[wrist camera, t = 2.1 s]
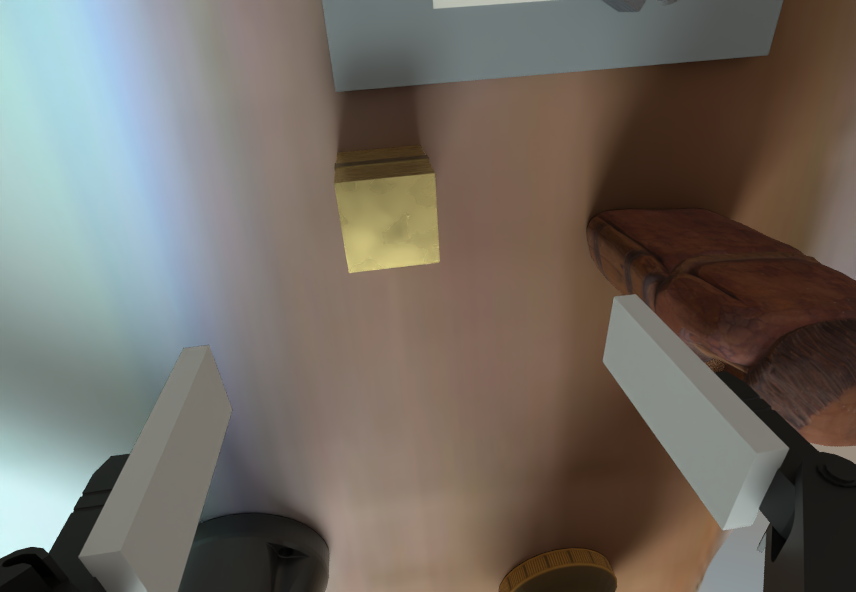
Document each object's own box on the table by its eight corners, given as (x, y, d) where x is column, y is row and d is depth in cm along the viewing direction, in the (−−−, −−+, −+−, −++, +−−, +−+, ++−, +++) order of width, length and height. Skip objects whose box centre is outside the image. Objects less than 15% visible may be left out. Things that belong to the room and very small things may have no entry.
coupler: (348, 230, 31) (348, 273, 26) (336, 151, 29) (333, 182, 23) (426, 222, 32) (440, 262, 27) (421, 143, 29) (435, 172, 24)
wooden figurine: (567, 282, 36) (731, 488, 20) (586, 199, 32) (798, 368, 17) (711, 279, 37) (963, 468, 22) (743, 200, 34) (1064, 356, 19)
